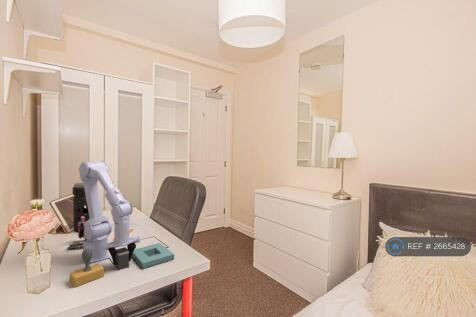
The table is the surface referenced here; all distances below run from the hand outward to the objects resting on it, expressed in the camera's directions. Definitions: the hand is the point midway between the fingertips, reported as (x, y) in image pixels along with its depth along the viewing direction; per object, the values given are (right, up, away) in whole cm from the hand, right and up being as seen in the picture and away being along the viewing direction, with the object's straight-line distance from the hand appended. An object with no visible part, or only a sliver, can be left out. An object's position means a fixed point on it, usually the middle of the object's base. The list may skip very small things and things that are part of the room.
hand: (122, 262), depth 101 cm
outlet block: (+10, -1, +9) cm, 13 cm away
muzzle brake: (-44, +1, +41) cm, 60 cm away
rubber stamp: (-9, -2, -10) cm, 13 cm away
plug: (0, -2, 0) cm, 2 cm away
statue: (-31, 0, +20) cm, 36 cm away
